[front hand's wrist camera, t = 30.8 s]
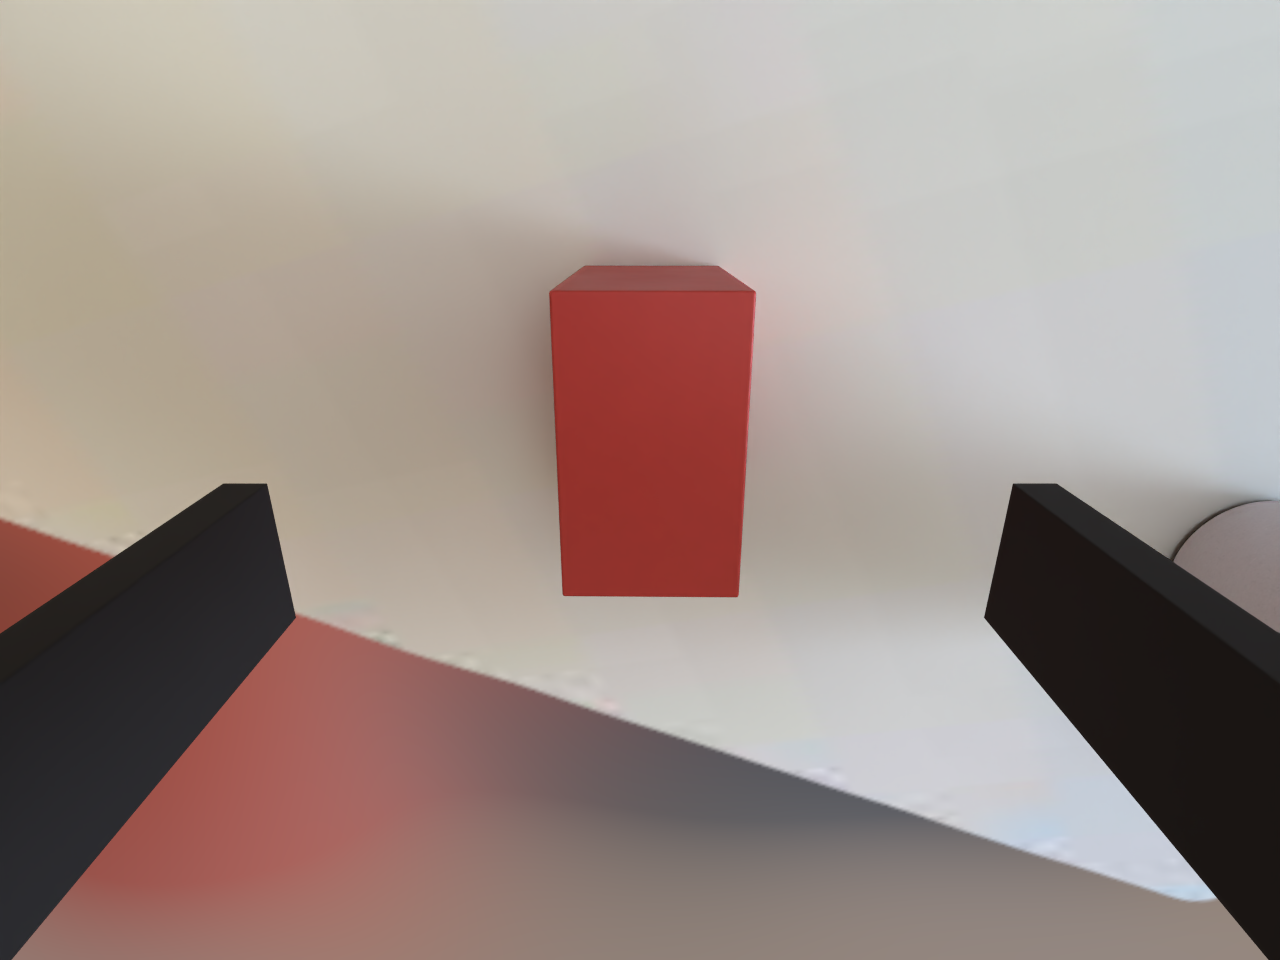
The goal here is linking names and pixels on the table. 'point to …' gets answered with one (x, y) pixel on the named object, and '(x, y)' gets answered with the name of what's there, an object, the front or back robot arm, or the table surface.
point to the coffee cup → (1240, 558)
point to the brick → (651, 428)
